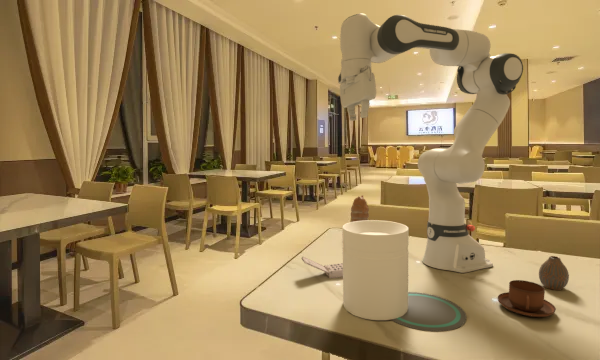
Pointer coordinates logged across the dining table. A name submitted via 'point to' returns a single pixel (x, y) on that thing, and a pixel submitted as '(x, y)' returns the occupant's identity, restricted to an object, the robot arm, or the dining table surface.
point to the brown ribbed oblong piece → (359, 209)
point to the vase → (553, 273)
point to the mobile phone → (327, 268)
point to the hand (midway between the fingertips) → (358, 119)
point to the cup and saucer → (526, 299)
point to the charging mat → (431, 313)
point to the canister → (375, 269)
